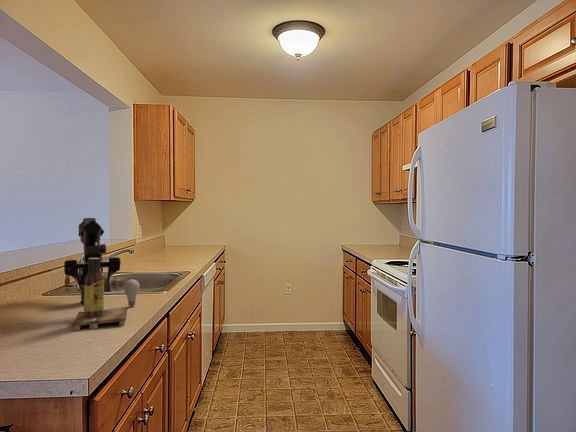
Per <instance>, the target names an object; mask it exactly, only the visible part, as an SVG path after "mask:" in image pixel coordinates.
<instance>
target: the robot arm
mask: <svg viewBox="0 0 576 432" xmlns="http://www.w3.org/2000/svg"><path fill="white" fill-rule="evenodd" d="M103 234H105V231H104V229H103V228H102V226H101V225H100V224H99V223H98V222H97V220H96V218H94V217H85V218H82V221H81V222H80V223H79V224H78V237H79V238H80V242H81V243H82V244H83V259H84V262H77V261H78V260H77V259H67V260H65V261H64V264H63V265H64V275H65V276H67V275H68V276H69V277H72V278H73V279H74V280H75V282H76V284H77V285H78V287H79V289H80V290H81V292H80V296H81V297H80V299H81V300H80V301H79V303H80V304H84V279H85V276H86V275H87V273H88V258H101V262H100V269H102V268H103V269H104V268H105V269H106V268H107V276H106V277H107V278H106V284H109V283H110V281H111V277H112V276H113V275H114V274H116V273H117V272H119V271H121V264H122V263H121V258H120V257H118V256H117V257H116V256H115V257H108V261H102V259H103V257H102V254H103V255H104V254H107V245H106V244H104V243H103V244H101V237H102V236H103ZM80 269H81V274H80V273H79V270H80ZM100 272H101V270H100ZM101 274H102V275H103V272H101ZM103 277H104V278H105V276H104V275H103Z"/></svg>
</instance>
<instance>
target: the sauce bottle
mask: <svg viewBox="0 0 576 432" xmlns="http://www.w3.org/2000/svg"><path fill="white" fill-rule="evenodd" d="M100 262H102V260H101V258H88V273H87V275H86V276H85V279H84V285H83V286H84V303H83V312H84V316H85V317H96V316H100V315H102V314H103V313H104V312H103V310H105V309H104V308H105V276H104V275H102V274H103V273H102V272H100V271H101V268H100ZM101 273H102V274H101ZM103 276H104V277H103Z"/></svg>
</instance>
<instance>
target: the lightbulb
mask: <svg viewBox="0 0 576 432" xmlns="http://www.w3.org/2000/svg"><path fill="white" fill-rule="evenodd" d="M140 287H141V285H140V283H139V281H138V280H136V279H134V278H132V279H128V280H126V281H125V282H124V283H123V287H122V288H123V291H124V294H125V295H126V298H127V303H128V306H129V307H131V308H132V307H134V306H136V299H137V295H138V293H139V290H140Z"/></svg>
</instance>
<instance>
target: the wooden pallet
mask: <svg viewBox="0 0 576 432" xmlns="http://www.w3.org/2000/svg"><path fill="white" fill-rule="evenodd" d="M103 312H104V313H103V314H102V315H100V316H96V317H85V316H84V311H79V312H78V313H77V315H76V316H75V317H74V319H73V321H72V324H71V325H72V327H73V331H80V329H81V328H82V326H87V325H89V326H88V328H89V330H93V329H98V328H99V326H100V324H108V323H117V322H118V323H119V324H118V325H119V327H122V326H125V324H126V321H127V316H128V308H127V307H123V308H114V309H103Z"/></svg>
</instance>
